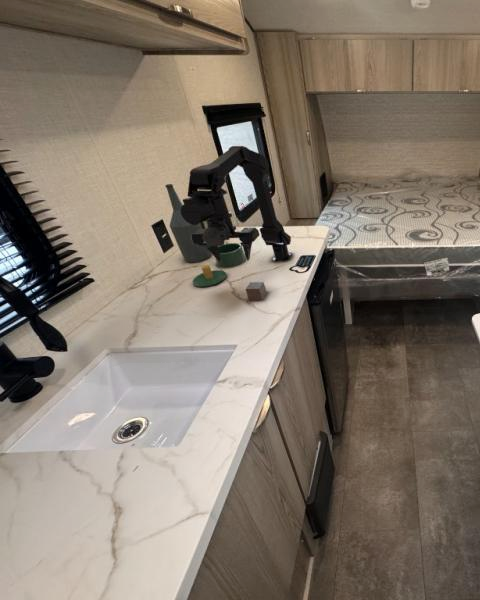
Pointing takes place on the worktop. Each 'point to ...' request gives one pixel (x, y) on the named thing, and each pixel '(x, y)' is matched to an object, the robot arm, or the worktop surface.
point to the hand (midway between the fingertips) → (234, 260)
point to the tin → (231, 255)
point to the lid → (209, 277)
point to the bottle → (185, 231)
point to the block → (256, 291)
